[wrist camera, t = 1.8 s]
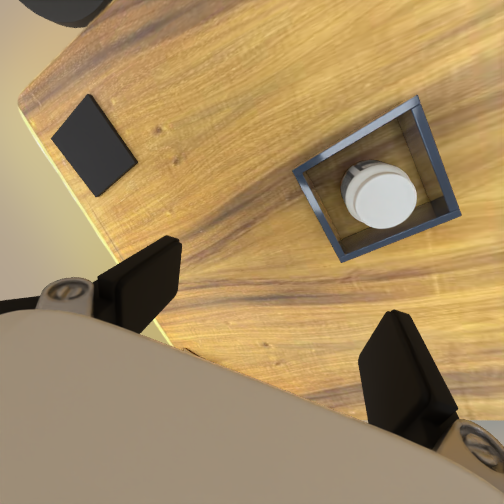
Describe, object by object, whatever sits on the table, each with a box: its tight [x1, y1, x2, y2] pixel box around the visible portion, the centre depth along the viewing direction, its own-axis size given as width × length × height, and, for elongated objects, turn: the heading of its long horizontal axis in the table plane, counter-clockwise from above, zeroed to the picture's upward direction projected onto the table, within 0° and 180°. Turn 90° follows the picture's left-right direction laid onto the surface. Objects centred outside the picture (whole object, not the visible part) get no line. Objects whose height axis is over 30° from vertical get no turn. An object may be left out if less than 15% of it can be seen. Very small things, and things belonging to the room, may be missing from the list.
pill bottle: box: [340, 160, 417, 229], centre depth 25 cm, size 6×6×10 cm
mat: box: [51, 94, 138, 197], centre depth 36 cm, size 10×10×1 cm
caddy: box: [292, 95, 462, 263], centre depth 27 cm, size 12×12×5 cm
